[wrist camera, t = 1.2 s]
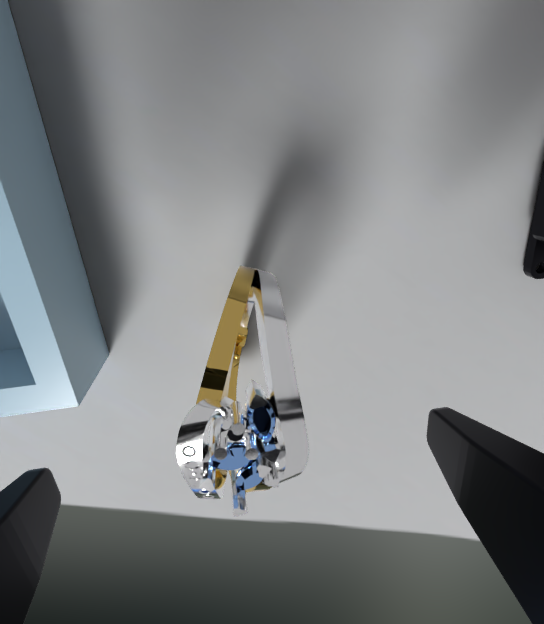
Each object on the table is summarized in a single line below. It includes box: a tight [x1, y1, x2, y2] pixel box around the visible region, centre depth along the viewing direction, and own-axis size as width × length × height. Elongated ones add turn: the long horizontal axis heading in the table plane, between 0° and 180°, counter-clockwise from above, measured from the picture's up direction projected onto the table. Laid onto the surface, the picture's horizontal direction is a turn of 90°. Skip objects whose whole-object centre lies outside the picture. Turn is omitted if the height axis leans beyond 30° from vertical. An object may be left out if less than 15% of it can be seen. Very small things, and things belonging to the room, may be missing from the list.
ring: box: [177, 265, 309, 516], centre depth 12 cm, size 7×3×8 cm, turn 165°
